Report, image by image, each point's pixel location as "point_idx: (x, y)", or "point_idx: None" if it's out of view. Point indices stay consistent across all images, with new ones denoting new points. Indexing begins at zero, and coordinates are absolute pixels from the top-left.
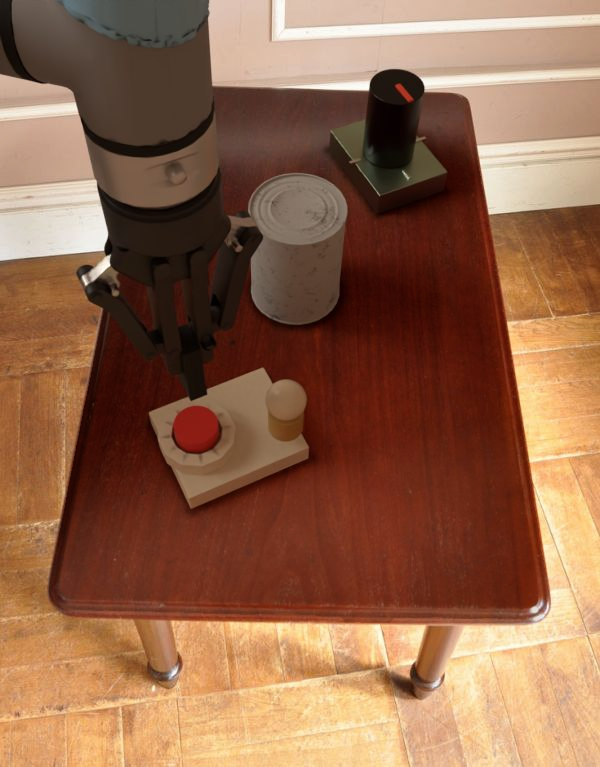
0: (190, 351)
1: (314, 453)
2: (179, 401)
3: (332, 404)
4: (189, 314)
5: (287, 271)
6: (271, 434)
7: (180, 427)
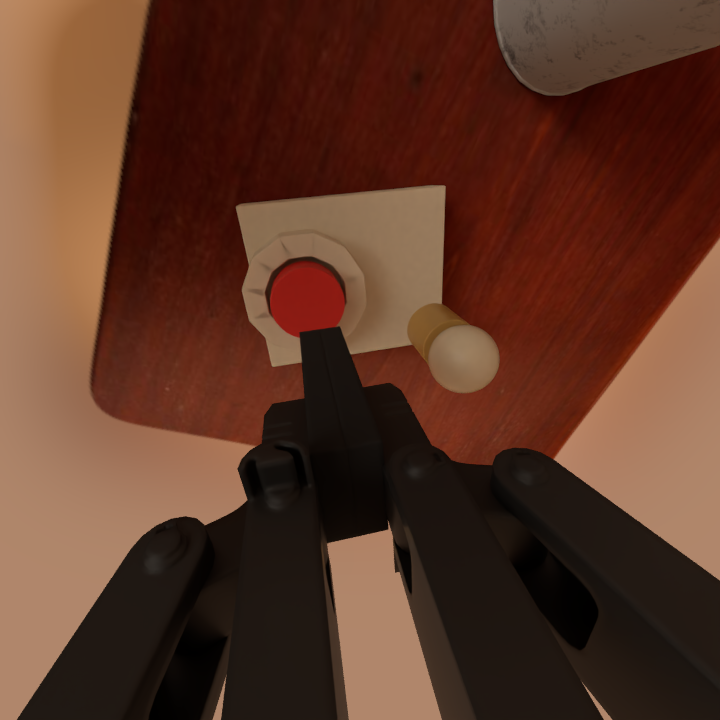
0: (354, 533)
1: None
2: (293, 203)
3: (493, 264)
4: (420, 597)
5: (644, 19)
6: (408, 336)
7: (282, 303)
